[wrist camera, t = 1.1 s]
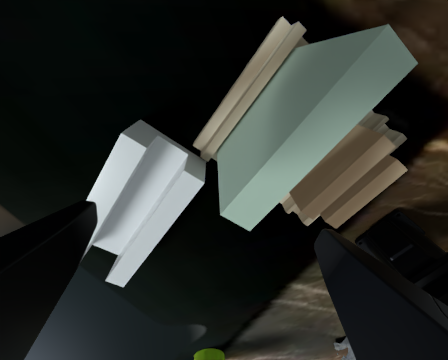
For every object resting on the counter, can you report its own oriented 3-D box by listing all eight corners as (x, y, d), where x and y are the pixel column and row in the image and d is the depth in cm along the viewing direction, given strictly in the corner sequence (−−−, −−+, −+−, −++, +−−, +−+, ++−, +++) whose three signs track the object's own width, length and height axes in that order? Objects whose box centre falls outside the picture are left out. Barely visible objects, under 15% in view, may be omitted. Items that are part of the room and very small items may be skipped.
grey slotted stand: (206, 161, 21) (204, 183, 17) (136, 255, 27) (123, 287, 23) (140, 119, 19) (121, 132, 15) (79, 231, 25) (53, 262, 21)
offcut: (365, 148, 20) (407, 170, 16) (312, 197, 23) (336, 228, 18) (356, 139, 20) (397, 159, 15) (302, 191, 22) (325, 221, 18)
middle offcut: (354, 129, 19) (396, 146, 15) (292, 189, 22) (312, 219, 18) (344, 119, 19) (384, 134, 14) (282, 182, 22) (300, 211, 17)
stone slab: (331, 345, 39) (388, 334, 37) (327, 334, 41) (381, 323, 39) (345, 377, 48) (392, 369, 45) (341, 367, 49) (386, 359, 47)
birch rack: (390, 134, 21) (411, 142, 19) (302, 214, 25) (311, 228, 23) (278, 19, 16) (289, 11, 14) (193, 142, 20) (191, 151, 18)
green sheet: (309, 66, 17) (418, 63, 8) (233, 160, 20) (249, 231, 11) (292, 48, 16) (388, 24, 7) (216, 149, 20) (220, 214, 11)
